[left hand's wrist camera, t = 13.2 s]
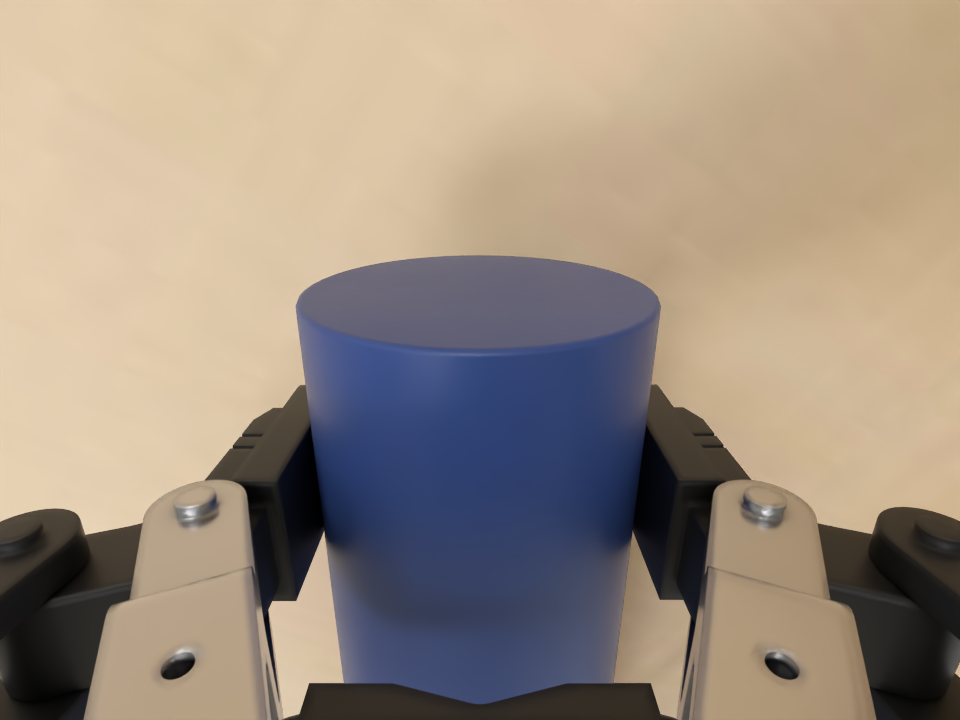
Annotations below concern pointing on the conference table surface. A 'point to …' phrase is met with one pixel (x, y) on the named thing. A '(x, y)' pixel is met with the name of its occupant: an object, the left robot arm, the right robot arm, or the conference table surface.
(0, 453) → the conference table surface
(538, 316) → the rod
